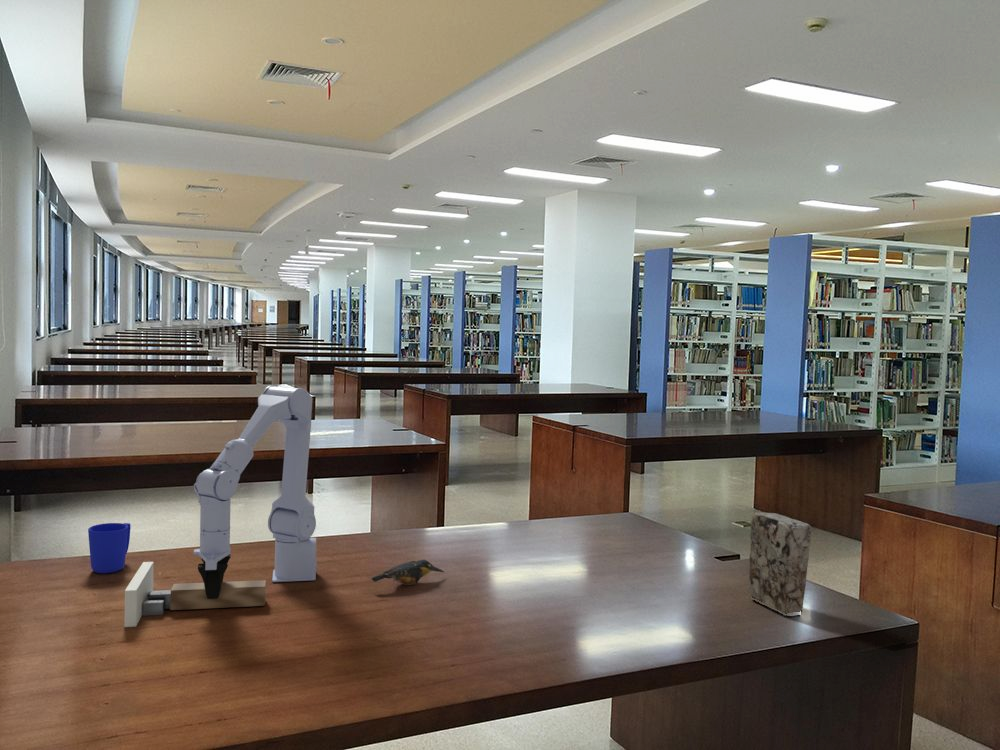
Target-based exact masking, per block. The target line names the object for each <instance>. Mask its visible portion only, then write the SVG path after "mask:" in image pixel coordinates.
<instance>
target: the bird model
mask: <svg viewBox="0 0 1000 750" xmlns="http://www.w3.org/2000/svg"><path fill="white" fill-rule="evenodd" d="M431 572H439V573H444V572H445V571H444V570H442V569H440V568H439V567H436V566H434V565H433V563H431V562H430V561H428V560H426V559H420V560H412V561H408V562H404V563H401V564H399V565H396V566H394V567H391V568H389V569H387V570H385V571H383V573H379V574H377V575H374V576H372V577H371V578H370V579H369V580H370V581H372V582H373V583H376V582H378V581H381V580H383V579H392V581H393V583H395V582H396V583H397V584H402V585H406V586H412V585H413V584H418V582H419V581H420V579H422V578H423V577H424V576H427V574H430V573H431Z"/></svg>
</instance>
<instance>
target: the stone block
mask: <svg viewBox="0 0 1000 750" xmlns="http://www.w3.org/2000/svg"><path fill="white" fill-rule="evenodd" d="M811 528H812V527H811V525H810V524H809V523H807V522H803V521H801V520H798V519H794V518H791V517H788V516H786V515H782V514H779V513H774V512H757V511H756V512H755V513H754V514H753V515H752V517H751V524H750V536H749V537H750V541H751V542H750V551H749V573H748V575H749V578H748V579H749V580H748V582H749V591H750V597H752V598H754V599H757V600H759V601H761V602H763V603H765V604H767V605H769V606H770V607H772V608H775V609H777V610H779V611H781V612H782V613H785V614H787V613H793V612H800V611H802V612H803V607H804V598H805V592H806V585H807V583H806V582H807V574H808V567H809V566H808V565H809V560H810V559H809V558H810V546H811V538H812V529H811Z"/></svg>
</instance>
